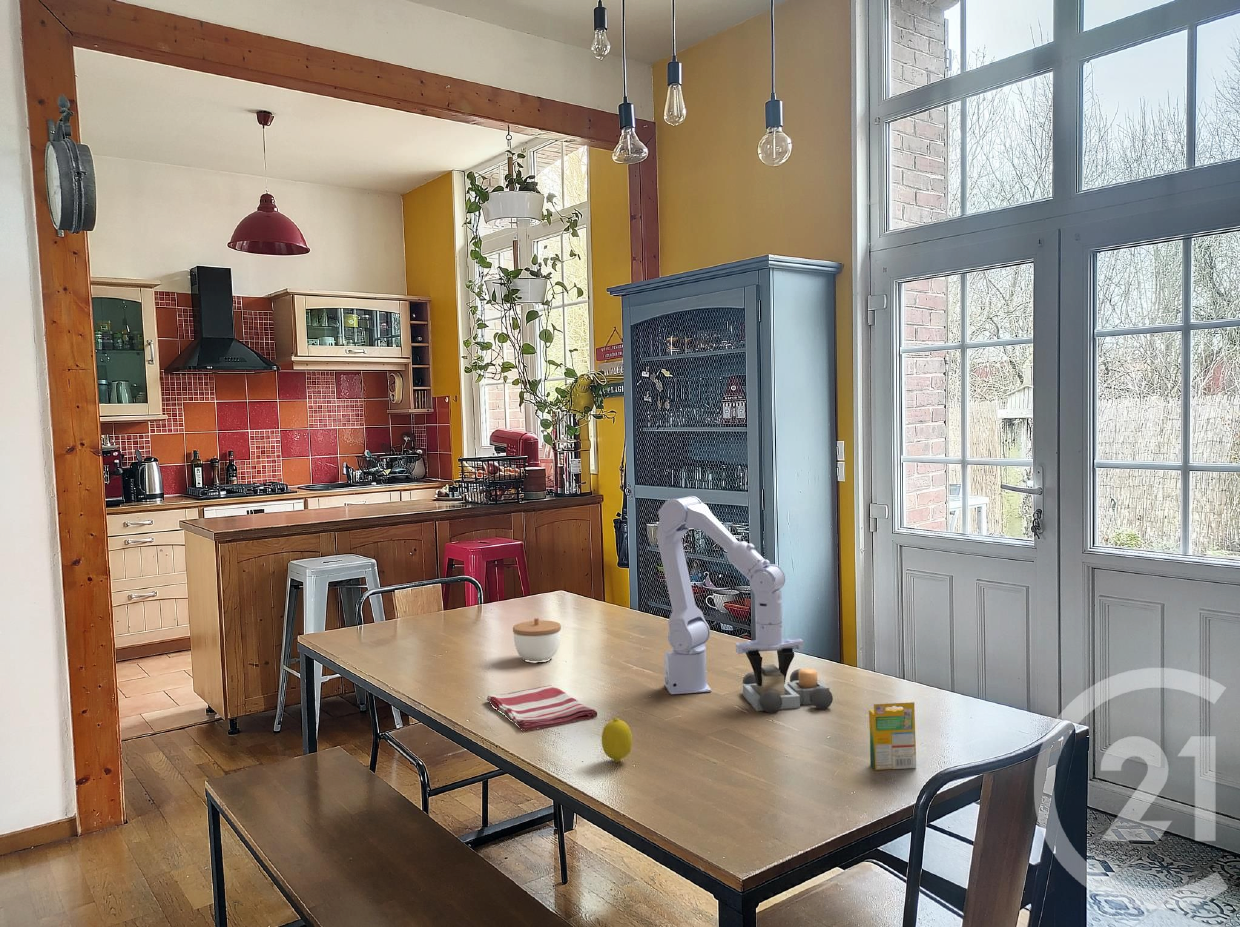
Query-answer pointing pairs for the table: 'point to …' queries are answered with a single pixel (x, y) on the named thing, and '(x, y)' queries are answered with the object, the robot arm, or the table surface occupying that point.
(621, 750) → the lemon
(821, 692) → the frame
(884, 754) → the crayon box
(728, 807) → the table surface
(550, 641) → the lidded bowl
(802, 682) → the orange rounded peg
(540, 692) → the dish towel
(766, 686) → the two-tone stepped block
